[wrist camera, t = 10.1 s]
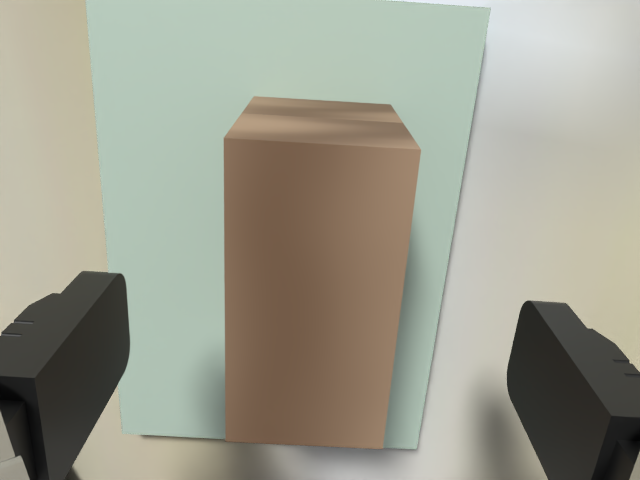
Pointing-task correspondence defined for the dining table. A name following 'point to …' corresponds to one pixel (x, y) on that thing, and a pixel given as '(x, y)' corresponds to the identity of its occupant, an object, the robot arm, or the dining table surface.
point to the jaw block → (314, 269)
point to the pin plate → (208, 169)
